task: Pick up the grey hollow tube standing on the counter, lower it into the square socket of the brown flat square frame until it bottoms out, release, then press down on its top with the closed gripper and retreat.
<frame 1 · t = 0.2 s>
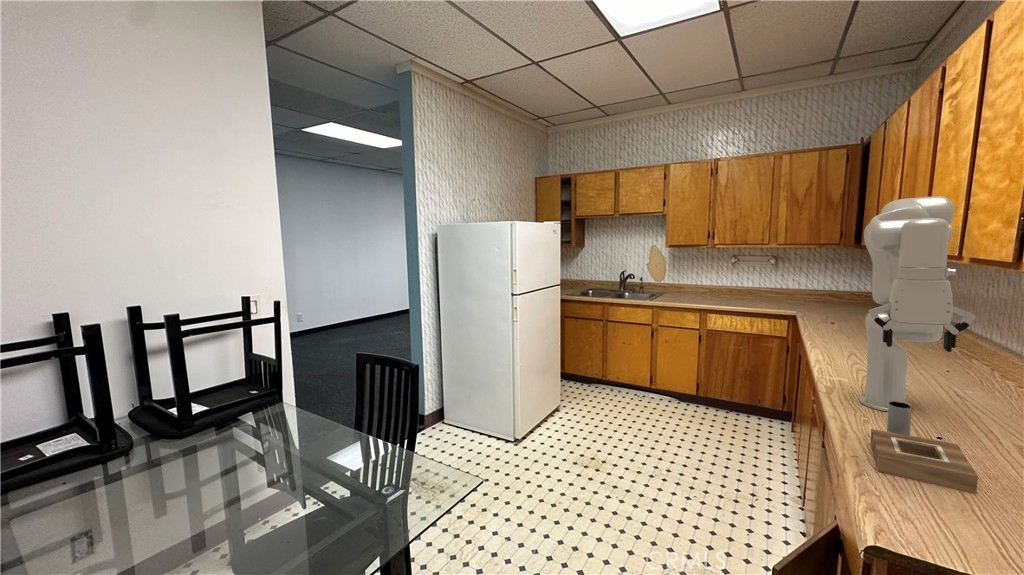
hand: (917, 347, 93), 31 cm above the kitchen counter, fingers open, 9 cm apart
brown flat square frame: (917, 465, 99), on the kitchen counter
grey hollow tube: (897, 441, 110), on the kitchen counter
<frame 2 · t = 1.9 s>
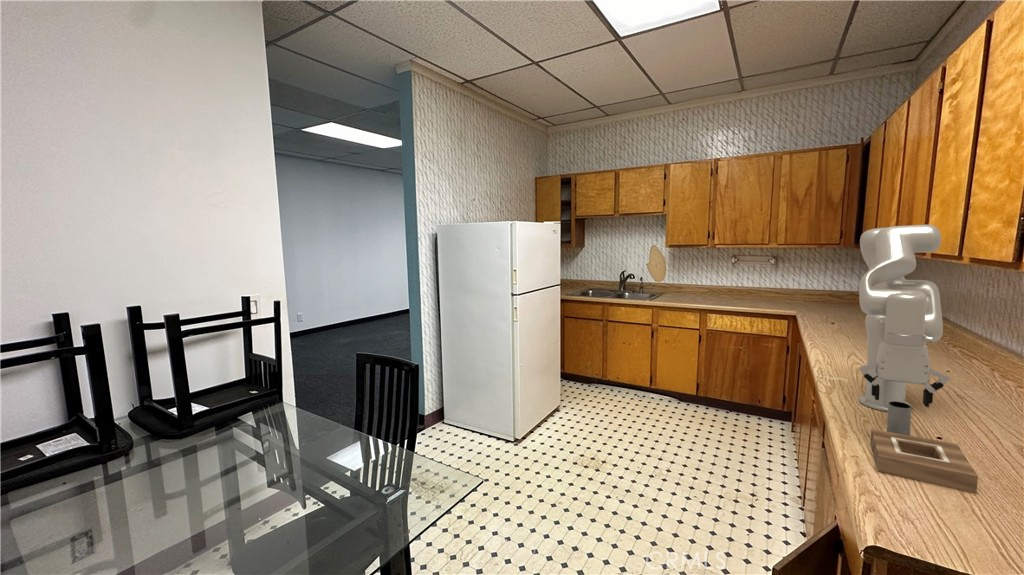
hand: (900, 401, 108), 11 cm above the kitchen counter, fingers open, 9 cm apart
nothing on the kitchen counter moved.
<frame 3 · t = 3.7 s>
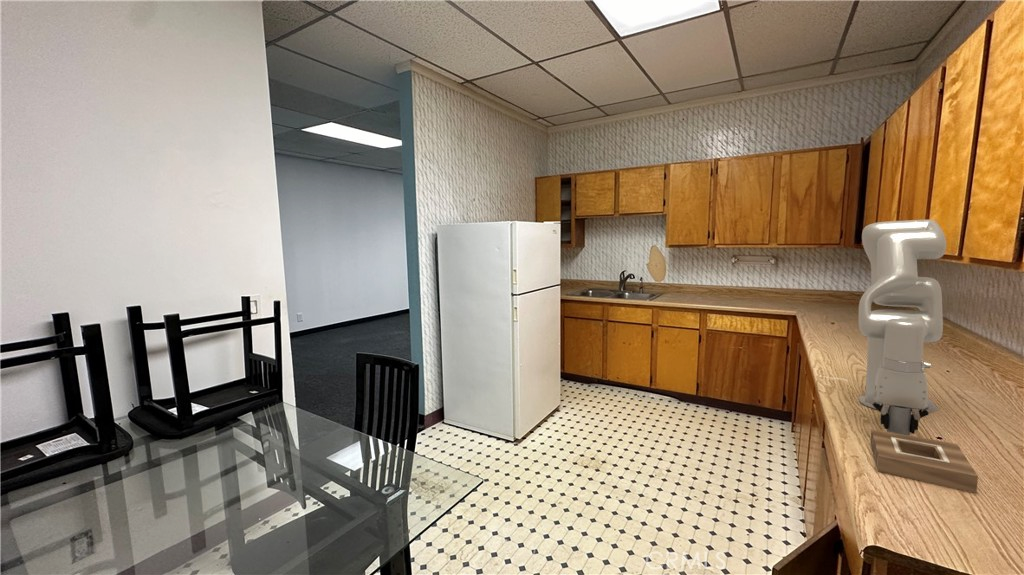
hand: (898, 428, 110), 3 cm above the kitchen counter, fingers closed on grey hollow tube, 4 cm apart
grey hollow tube: (897, 441, 110), on the kitchen counter, touching gripper
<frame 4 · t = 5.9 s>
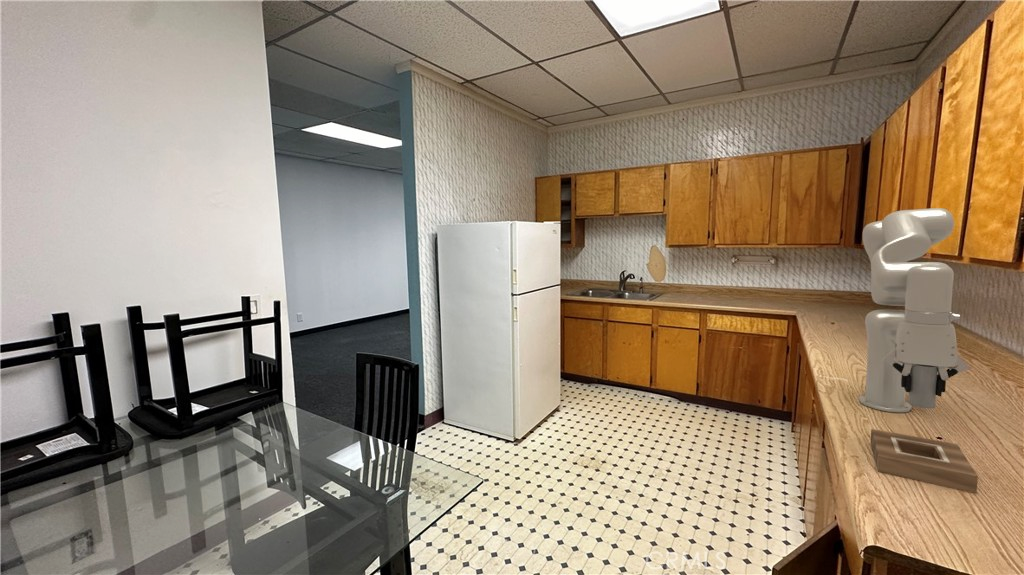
hand: (922, 391, 96), 19 cm above the kitchen counter, fingers closed on grey hollow tube, 4 cm apart
grey hollow tube: (921, 405, 97), point 15 cm above the kitchen counter, touching gripper
when the fingers open (5 cm above the kitchen counter, at t = 8.5 s): grey hollow tube drops 1 cm, resting in brown flat square frame.
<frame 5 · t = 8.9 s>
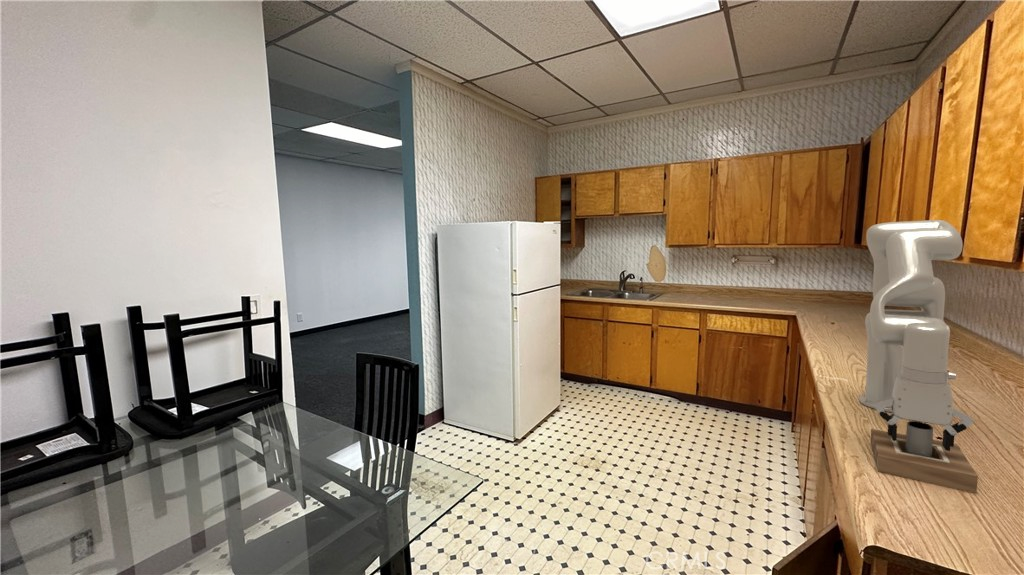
hand: (918, 443, 98), 6 cm above the kitchen counter, fingers open, 8 cm apart
grey hollow tube: (917, 465, 99), resting in brown flat square frame
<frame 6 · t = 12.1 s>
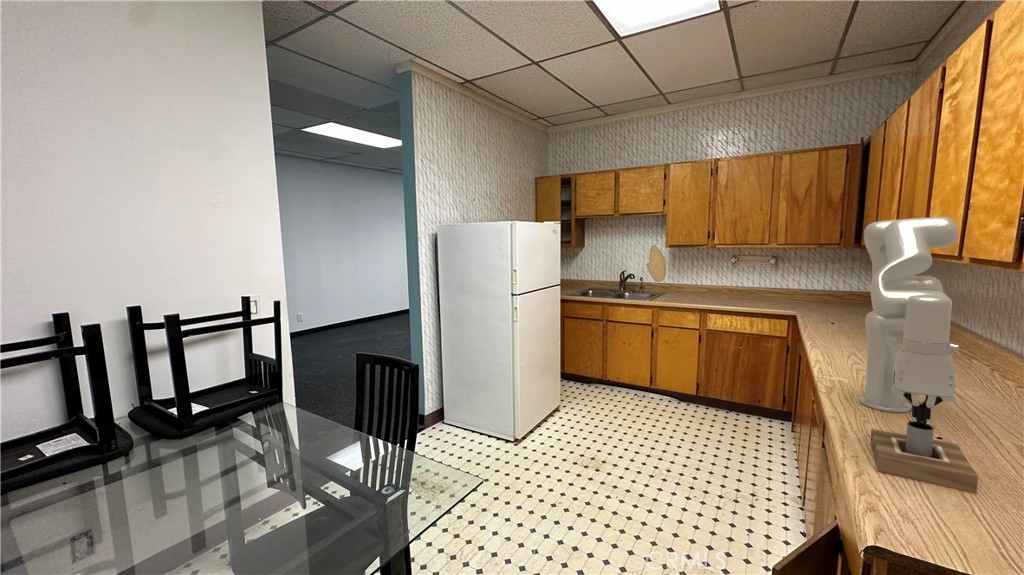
hand: (920, 420, 97), 12 cm above the kitchen counter, fingers closed
nothing on the kitchen counter moved.
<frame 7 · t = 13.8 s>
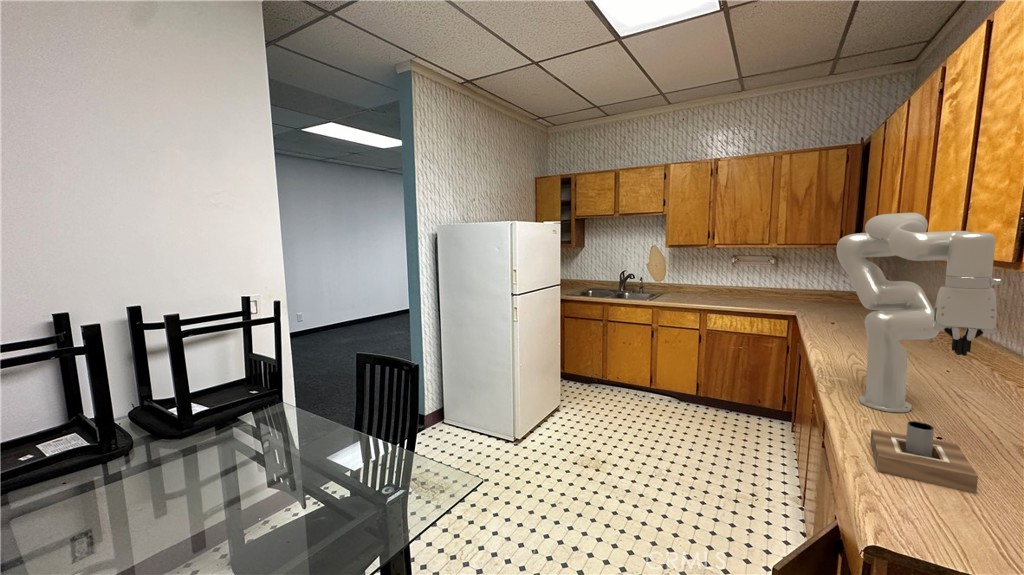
hand: (960, 353, 102), 25 cm above the kitchen counter, fingers closed
nothing on the kitchen counter moved.
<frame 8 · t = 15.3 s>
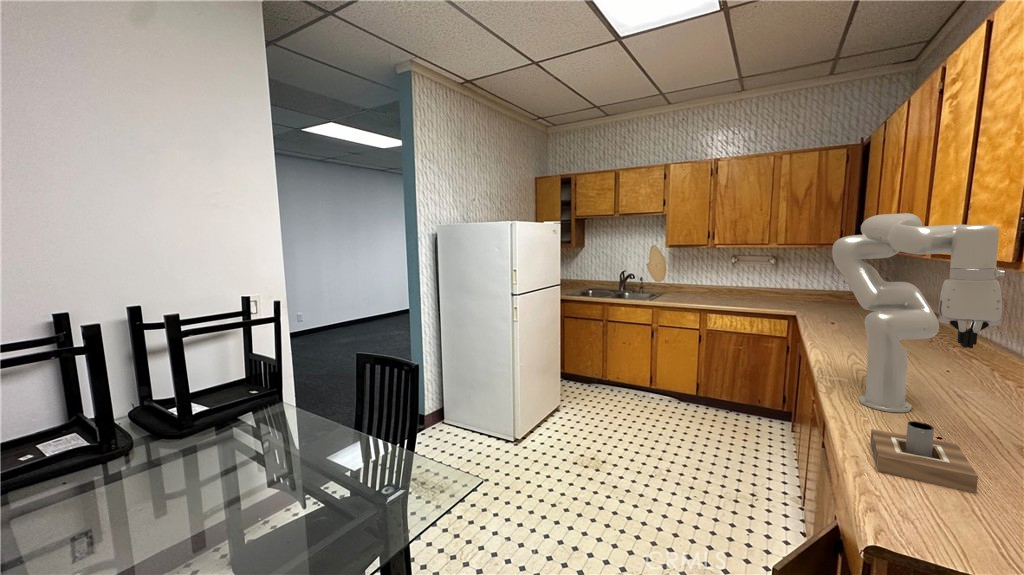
hand: (966, 346, 102), 27 cm above the kitchen counter, fingers closed
nothing on the kitchen counter moved.
at the end: grey hollow tube 0.2 cm off-centre on the brown flat square frame, point 0.0 cm above the brown flat square frame's base; grey hollow tube tilted 0°; the gripper is holding nothing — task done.
